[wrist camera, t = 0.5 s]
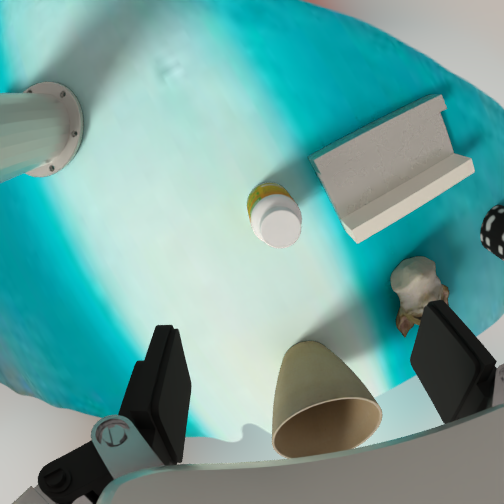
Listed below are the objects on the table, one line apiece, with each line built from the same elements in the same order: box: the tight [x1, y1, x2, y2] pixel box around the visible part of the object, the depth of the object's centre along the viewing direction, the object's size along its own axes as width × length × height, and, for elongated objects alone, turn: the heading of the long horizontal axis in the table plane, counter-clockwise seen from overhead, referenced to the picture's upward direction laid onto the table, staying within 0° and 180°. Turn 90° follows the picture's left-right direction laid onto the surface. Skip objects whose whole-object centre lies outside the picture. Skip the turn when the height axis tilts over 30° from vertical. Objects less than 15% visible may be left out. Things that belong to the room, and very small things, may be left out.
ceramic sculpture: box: [391, 256, 449, 337], centre depth 43 cm, size 11×9×15 cm
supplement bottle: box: [247, 182, 302, 248], centre depth 35 cm, size 5×5×10 cm
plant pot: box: [272, 341, 382, 459], centre depth 43 cm, size 15×15×16 cm
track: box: [308, 94, 475, 244], centre depth 36 cm, size 20×11×5 cm, turn 120°
